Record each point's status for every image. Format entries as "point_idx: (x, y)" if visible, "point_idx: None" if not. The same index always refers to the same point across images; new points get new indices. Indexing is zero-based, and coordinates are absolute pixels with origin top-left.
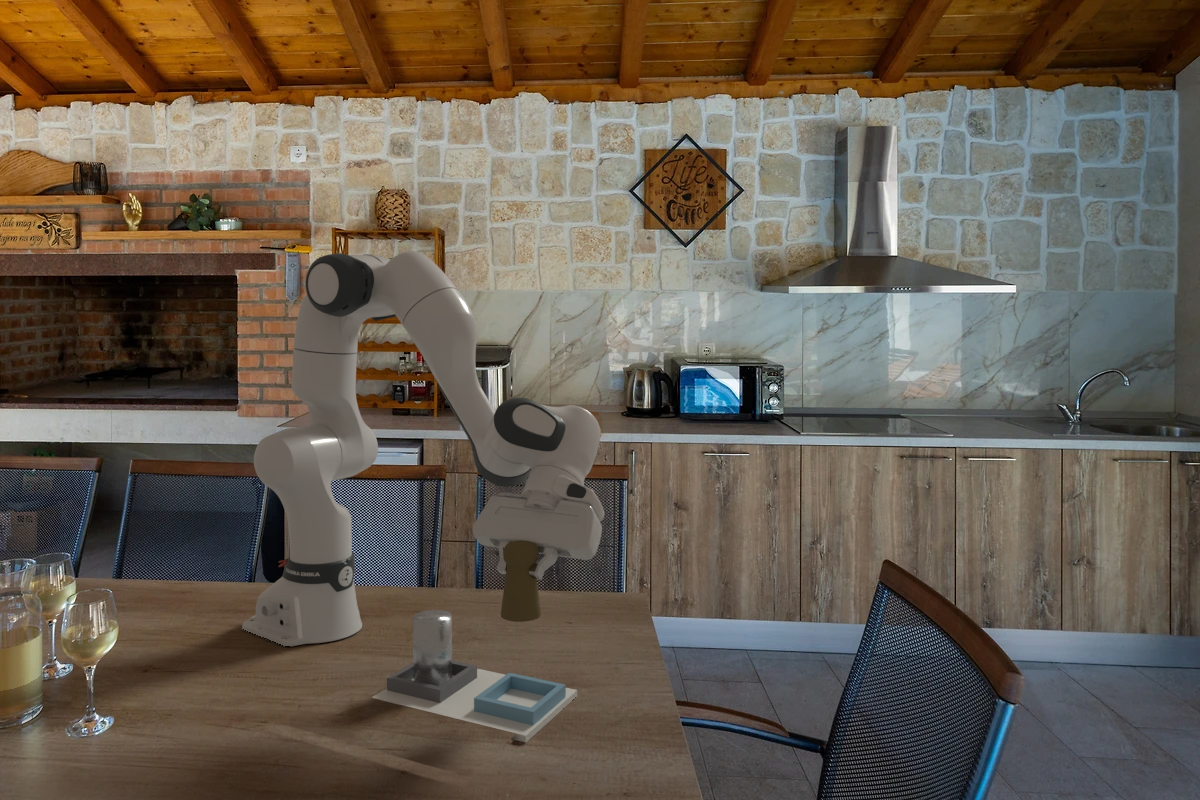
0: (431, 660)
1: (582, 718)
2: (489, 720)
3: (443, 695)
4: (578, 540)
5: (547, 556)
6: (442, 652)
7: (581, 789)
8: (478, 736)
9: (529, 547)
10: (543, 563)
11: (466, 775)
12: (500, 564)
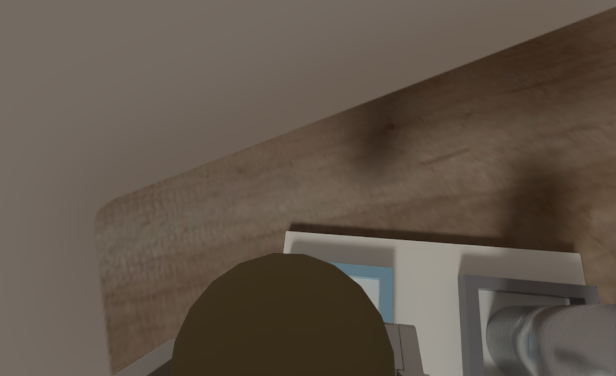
0: (530, 309)
1: None
2: (352, 251)
3: (460, 285)
4: None
5: (125, 373)
6: (522, 329)
7: (197, 168)
8: (354, 225)
9: (191, 322)
10: (164, 345)
11: (322, 146)
12: (402, 336)
